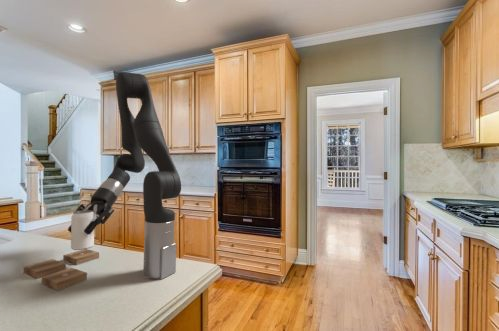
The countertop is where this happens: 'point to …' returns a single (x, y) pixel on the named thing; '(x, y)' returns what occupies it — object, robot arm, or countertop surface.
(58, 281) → the tile
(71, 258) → the tile
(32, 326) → the countertop surface
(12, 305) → the countertop surface
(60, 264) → the tile
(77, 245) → the can
